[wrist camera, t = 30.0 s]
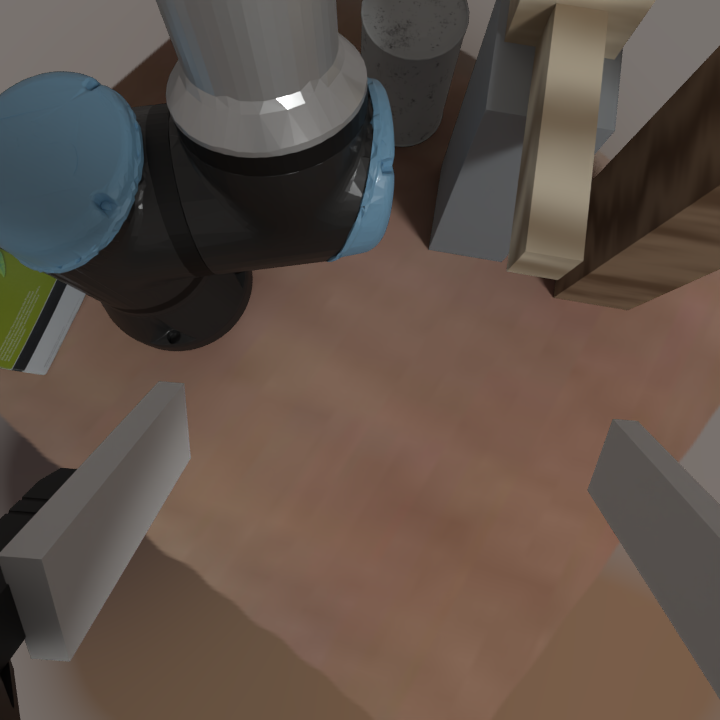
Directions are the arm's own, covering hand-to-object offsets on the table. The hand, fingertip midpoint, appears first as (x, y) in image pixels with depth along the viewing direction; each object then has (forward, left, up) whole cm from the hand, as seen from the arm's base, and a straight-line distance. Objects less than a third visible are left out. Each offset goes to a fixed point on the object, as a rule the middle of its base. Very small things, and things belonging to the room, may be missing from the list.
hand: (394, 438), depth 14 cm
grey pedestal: (-6, +26, -33) cm, 42 cm away
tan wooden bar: (-4, +22, -11) cm, 24 cm away
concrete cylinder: (-20, +31, -33) cm, 50 cm away
